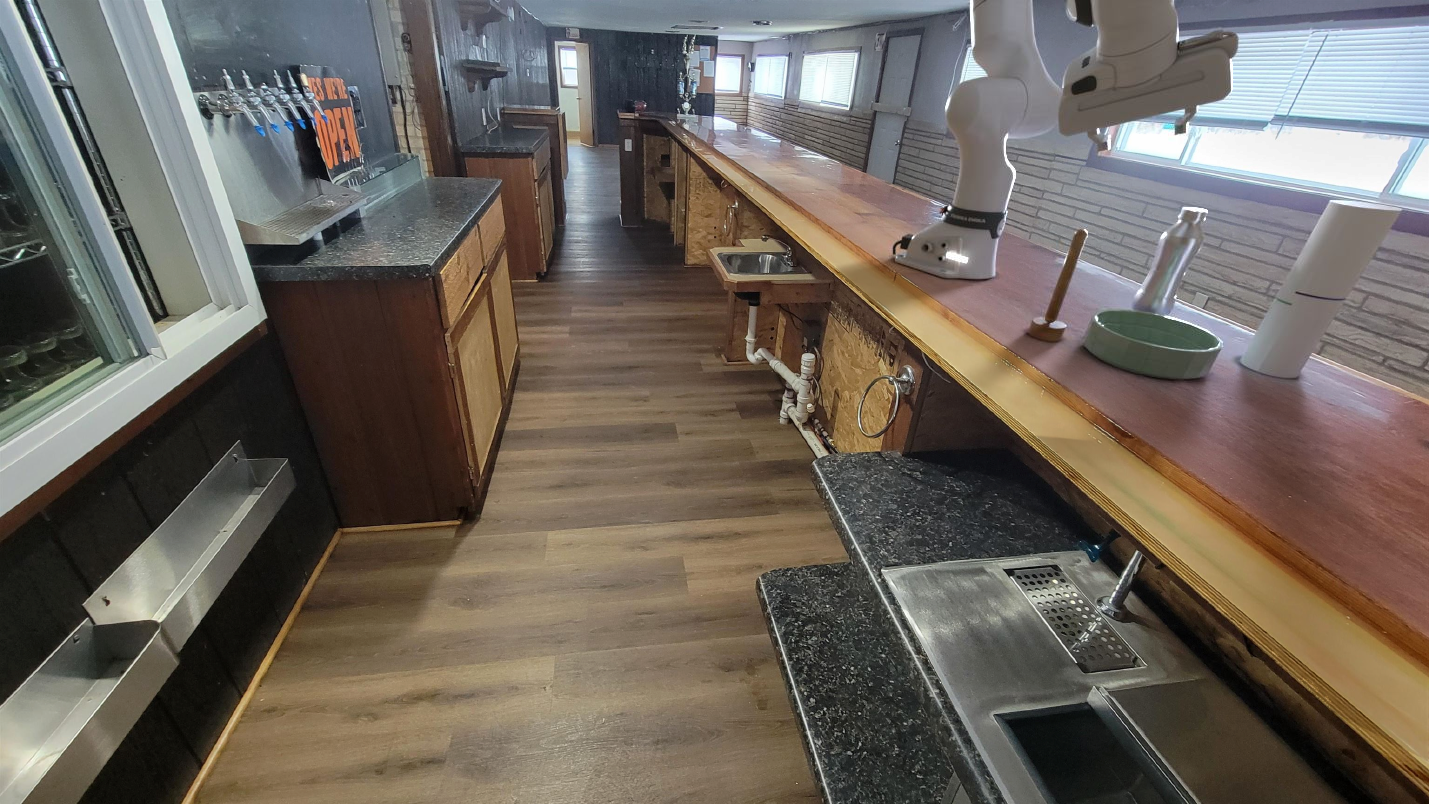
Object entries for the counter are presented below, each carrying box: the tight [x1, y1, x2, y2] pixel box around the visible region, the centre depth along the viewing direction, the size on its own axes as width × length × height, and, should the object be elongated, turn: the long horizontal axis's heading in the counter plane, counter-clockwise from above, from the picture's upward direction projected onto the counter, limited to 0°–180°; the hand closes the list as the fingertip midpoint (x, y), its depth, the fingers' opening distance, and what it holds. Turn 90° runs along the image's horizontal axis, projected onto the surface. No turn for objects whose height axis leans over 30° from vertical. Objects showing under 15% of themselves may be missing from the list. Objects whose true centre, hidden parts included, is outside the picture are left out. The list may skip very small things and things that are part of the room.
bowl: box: [1082, 308, 1224, 380], centre depth 90 cm, size 17×17×5 cm
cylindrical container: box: [1239, 199, 1403, 379], centre depth 84 cm, size 7×7×25 cm
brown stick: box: [1027, 228, 1088, 342], centre depth 93 cm, size 5×5×18 cm
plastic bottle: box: [1130, 206, 1208, 317], centre depth 104 cm, size 6×7×20 cm
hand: (1141, 140), depth 86 cm, fingers open, 8 cm apart
